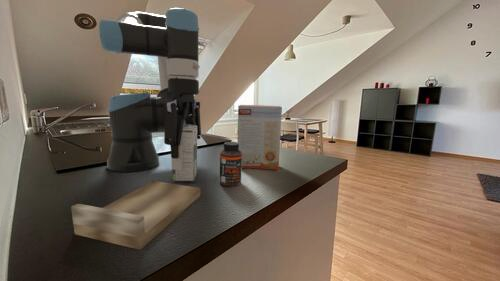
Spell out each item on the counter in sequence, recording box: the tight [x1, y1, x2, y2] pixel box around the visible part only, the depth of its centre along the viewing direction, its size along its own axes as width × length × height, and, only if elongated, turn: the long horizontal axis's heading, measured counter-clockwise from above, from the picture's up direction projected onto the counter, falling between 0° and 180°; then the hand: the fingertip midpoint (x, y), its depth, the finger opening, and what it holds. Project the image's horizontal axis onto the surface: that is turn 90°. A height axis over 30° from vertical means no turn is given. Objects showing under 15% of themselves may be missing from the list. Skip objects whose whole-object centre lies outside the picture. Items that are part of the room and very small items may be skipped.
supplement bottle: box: [219, 141, 243, 187], centre depth 61 cm, size 6×6×11 cm
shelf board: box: [70, 180, 201, 250], centre depth 45 cm, size 13×20×5 cm, turn 166°
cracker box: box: [237, 104, 283, 171], centre depth 75 cm, size 14×6×21 cm, turn 84°
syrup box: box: [171, 124, 198, 182], centre depth 61 cm, size 6×6×14 cm
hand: (185, 164), depth 62 cm, fingers closed on syrup box, 7 cm apart
